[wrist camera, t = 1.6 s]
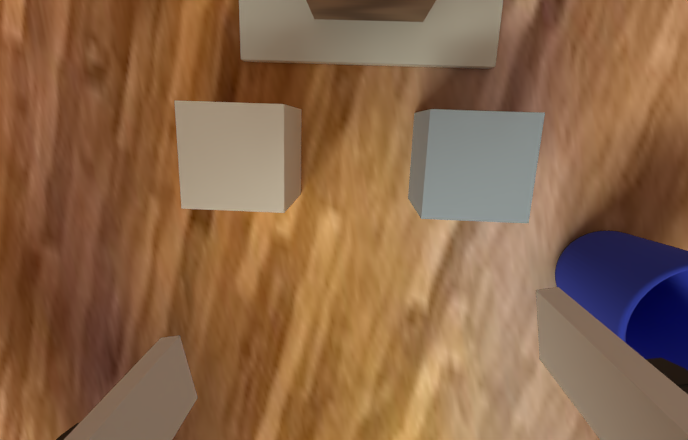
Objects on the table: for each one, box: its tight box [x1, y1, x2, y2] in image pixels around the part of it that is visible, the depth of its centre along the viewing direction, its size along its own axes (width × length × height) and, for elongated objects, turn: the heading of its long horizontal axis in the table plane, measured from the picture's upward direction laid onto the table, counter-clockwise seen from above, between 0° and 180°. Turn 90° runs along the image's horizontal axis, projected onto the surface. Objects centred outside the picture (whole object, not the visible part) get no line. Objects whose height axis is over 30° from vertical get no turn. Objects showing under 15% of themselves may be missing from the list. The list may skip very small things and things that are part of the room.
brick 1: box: [174, 100, 302, 213], centre depth 27 cm, size 6×6×7 cm
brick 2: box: [408, 109, 545, 223], centre depth 26 cm, size 6×6×7 cm
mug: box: [555, 231, 688, 370], centre depth 27 cm, size 8×12×10 cm
